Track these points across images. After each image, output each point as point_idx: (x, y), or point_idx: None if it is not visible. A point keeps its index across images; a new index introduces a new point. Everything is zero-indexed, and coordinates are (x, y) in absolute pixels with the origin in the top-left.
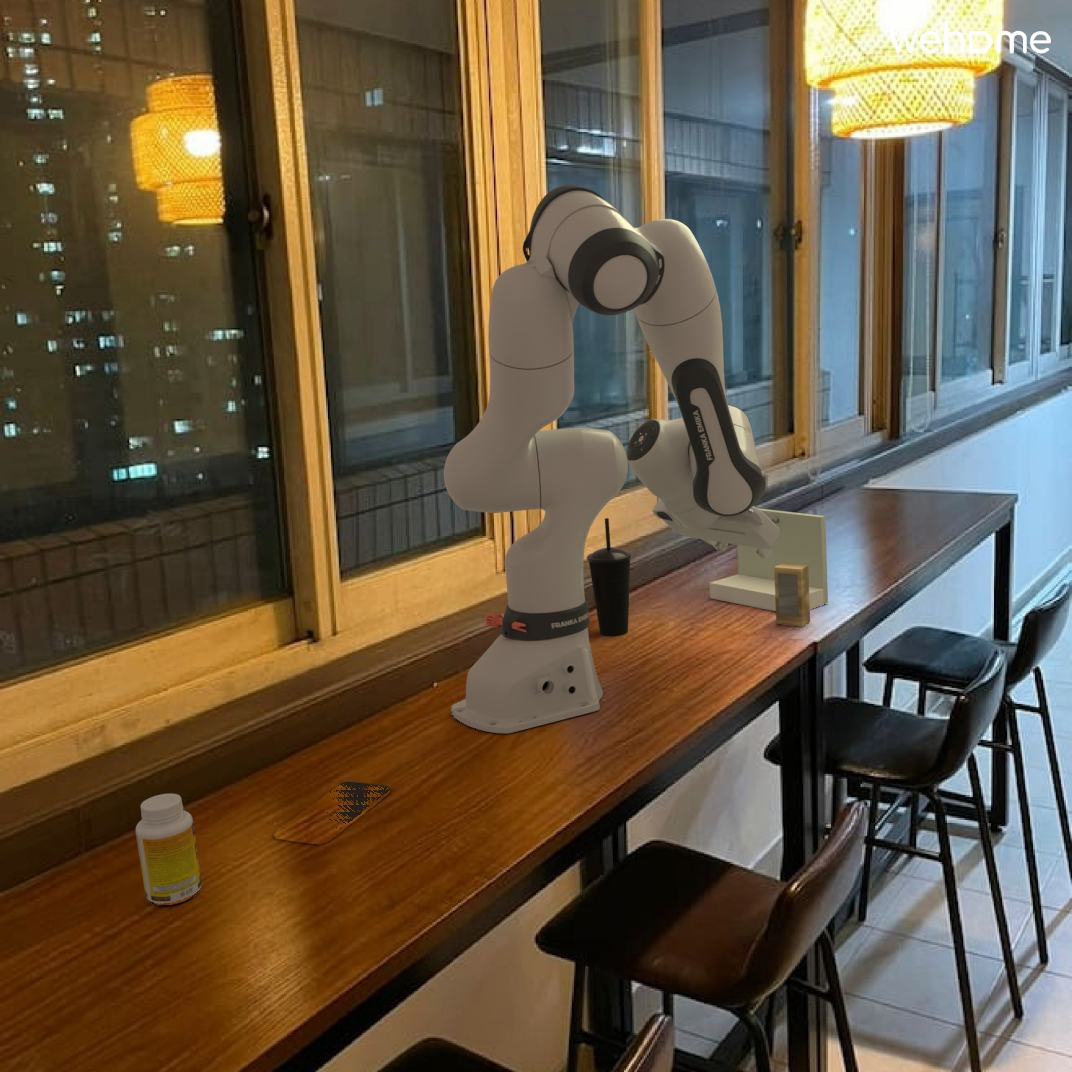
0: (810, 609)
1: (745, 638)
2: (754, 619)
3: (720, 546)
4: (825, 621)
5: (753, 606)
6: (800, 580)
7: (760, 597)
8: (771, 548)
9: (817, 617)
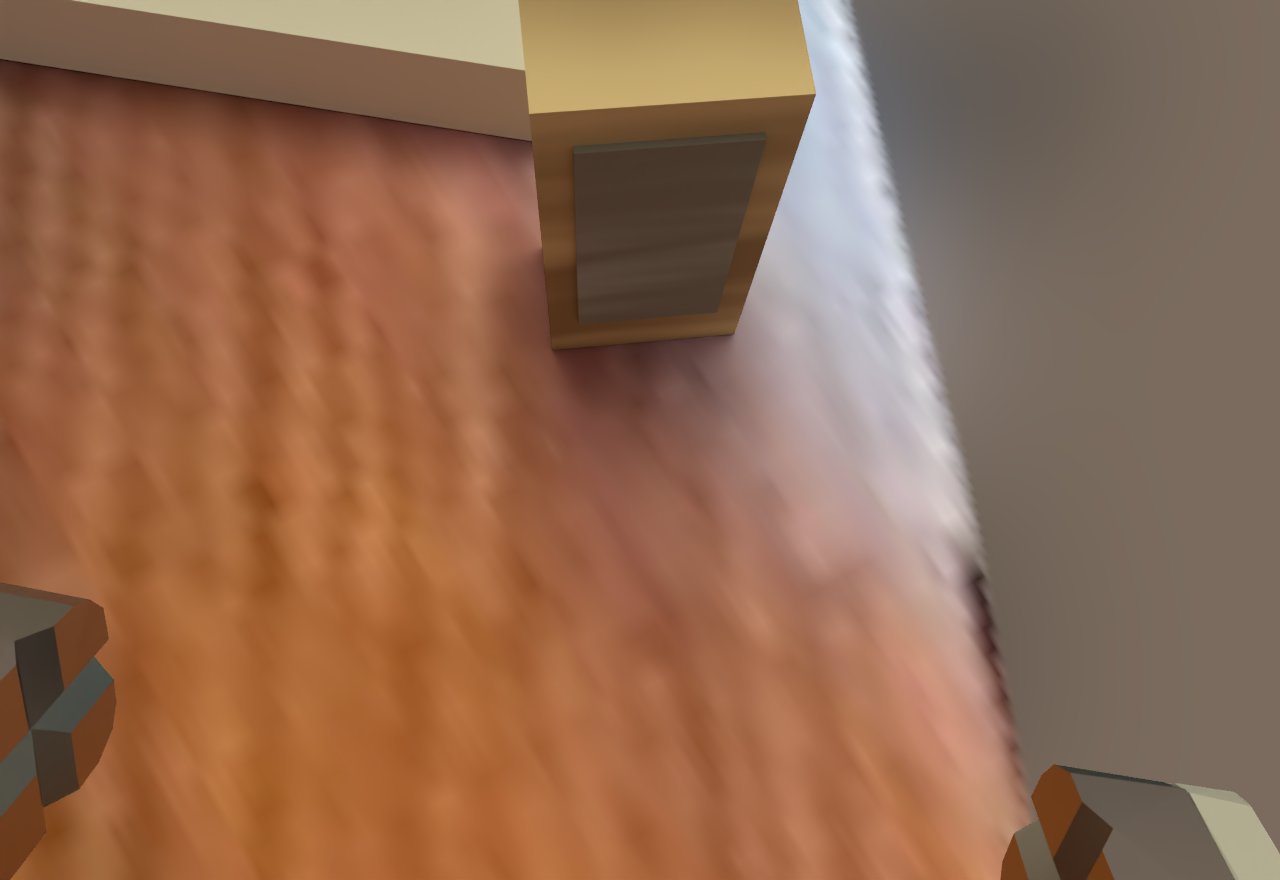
0: None
1: (538, 722)
2: (363, 315)
3: (21, 841)
4: None
5: (218, 90)
6: (786, 158)
7: (258, 53)
8: (1263, 828)
9: None
